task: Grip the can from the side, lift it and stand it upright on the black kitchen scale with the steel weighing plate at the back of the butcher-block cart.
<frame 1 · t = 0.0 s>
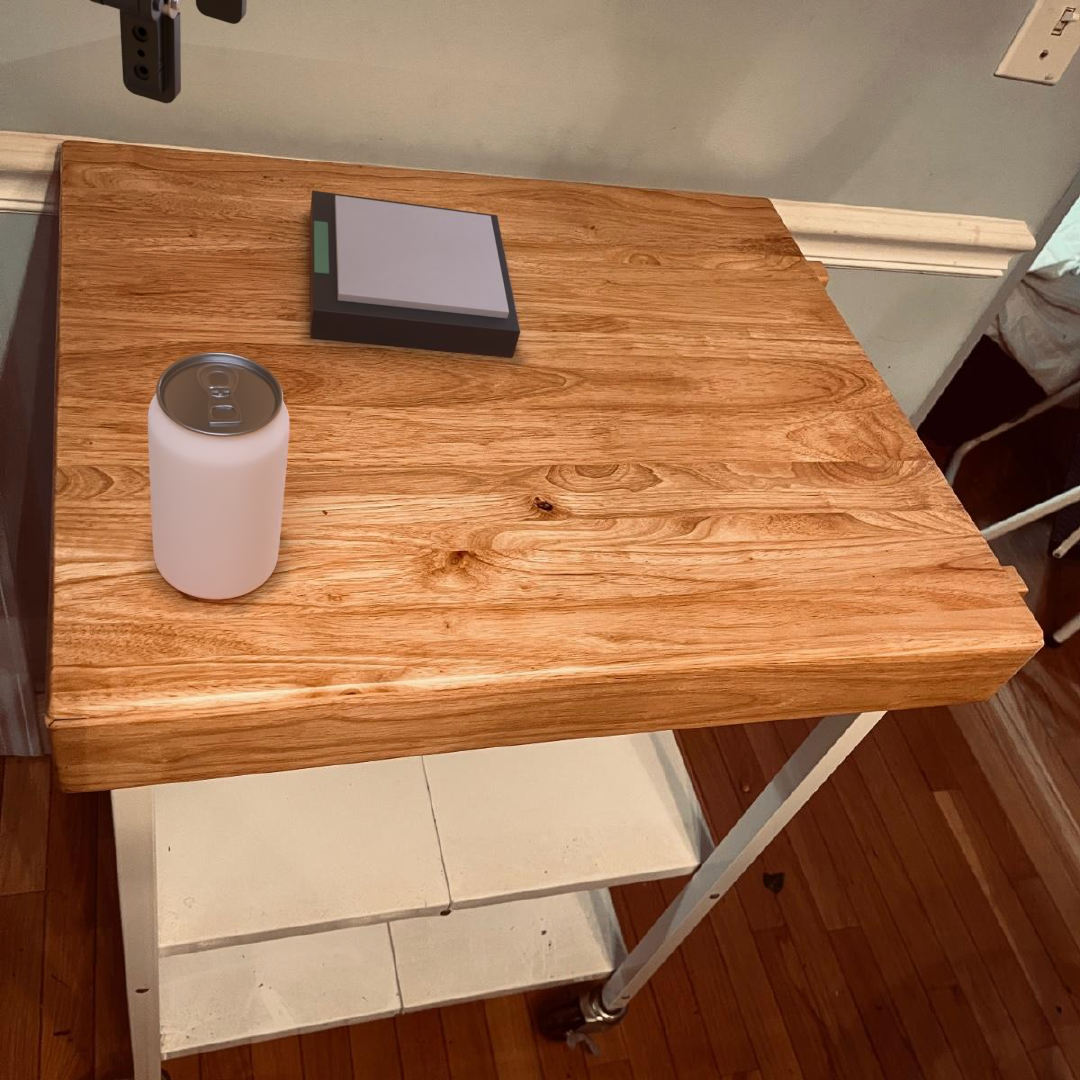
hand: (188, 53, 48), 22 cm above the kitchen cart, tool pointing down, fingers open, 8 cm apart
scale: (408, 285, 78), on the kitchen cart
can: (216, 559, 58), on the kitchen cart
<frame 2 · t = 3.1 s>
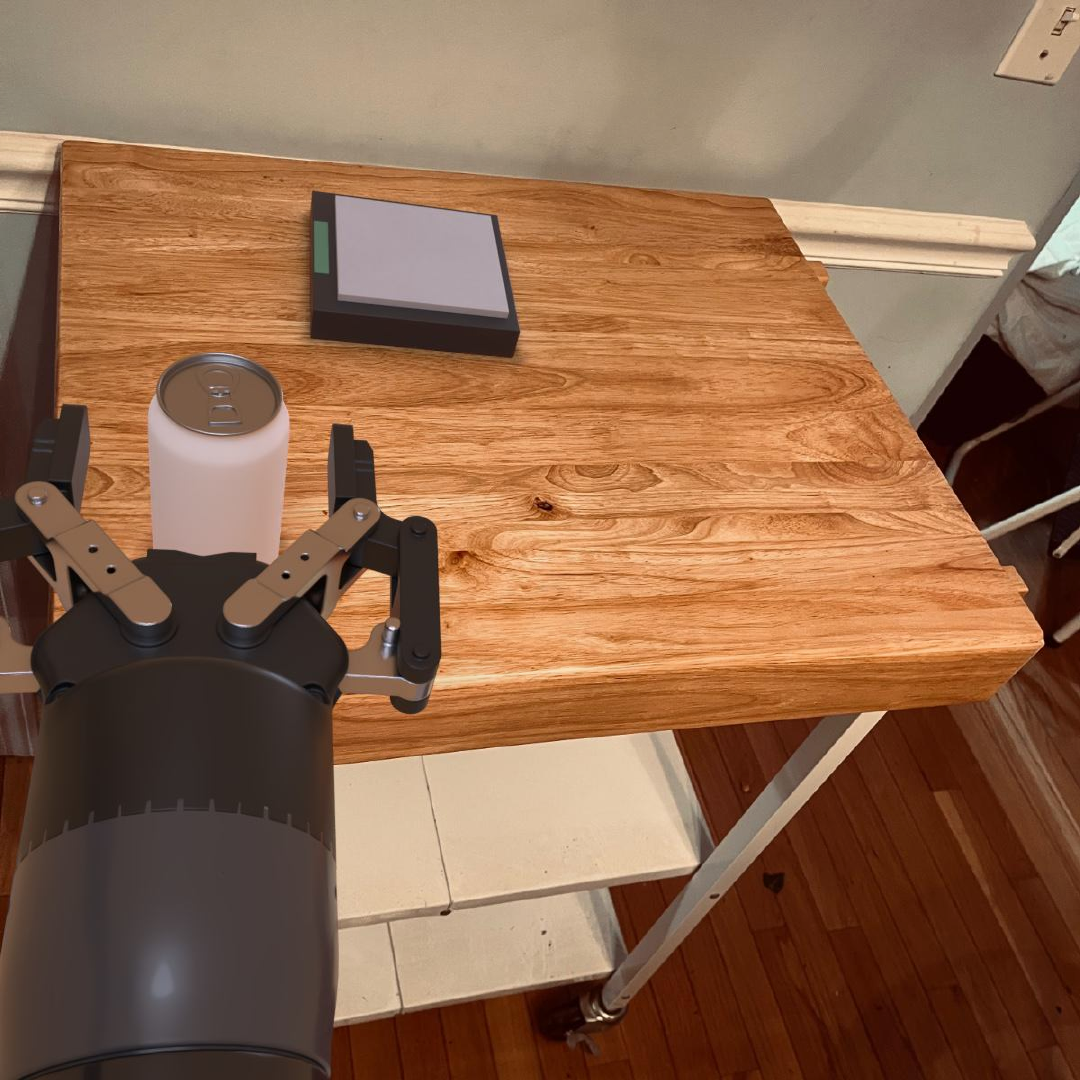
hand: (212, 432, 36), 20 cm above the kitchen cart, tool horizontal, fingers open, 8 cm apart
nothing on the kitchen cart moved.
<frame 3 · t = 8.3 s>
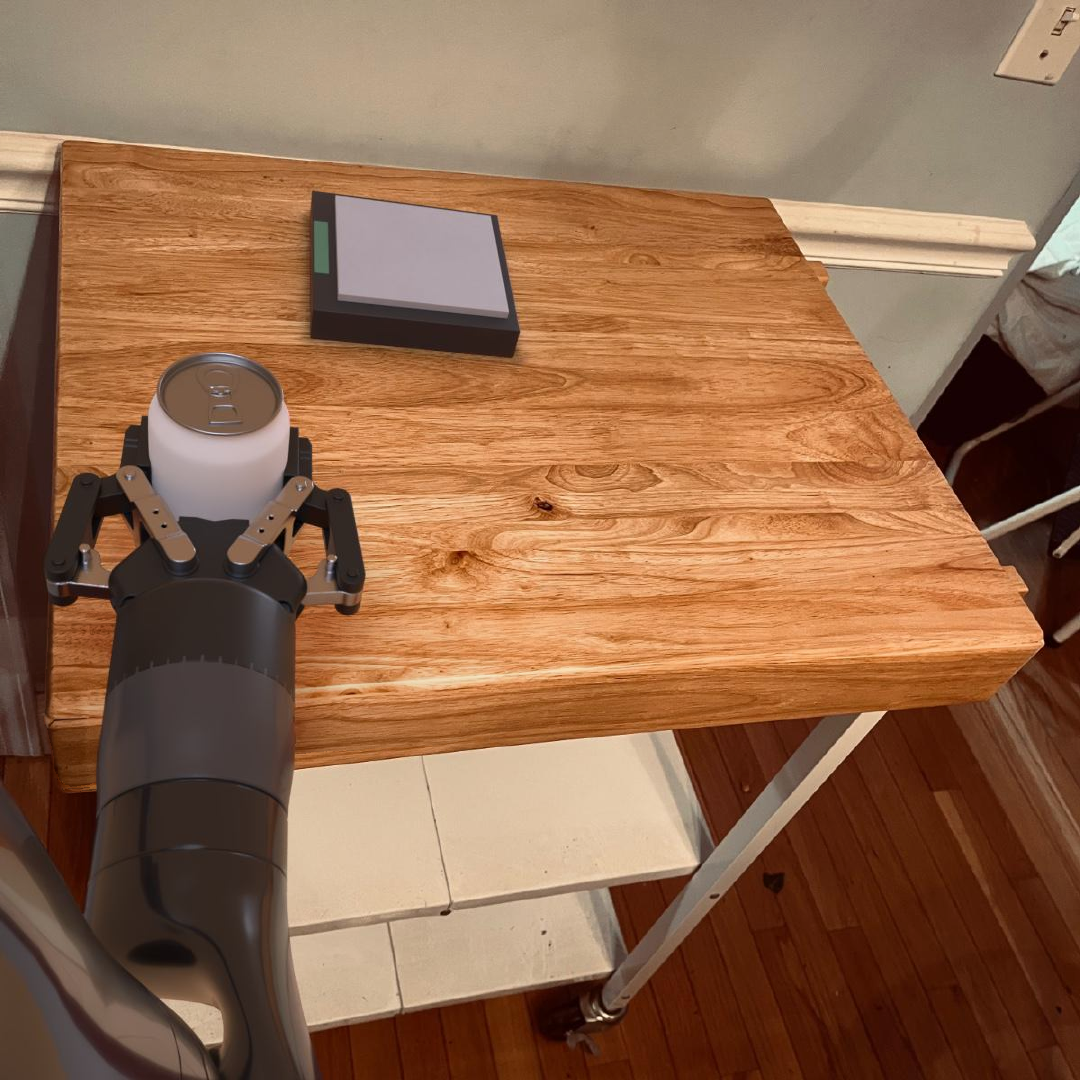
hand: (221, 433, 54), 7 cm above the kitchen cart, tool horizontal, fingers closed on can, 6 cm apart
can: (216, 559, 58), on the kitchen cart, touching gripper
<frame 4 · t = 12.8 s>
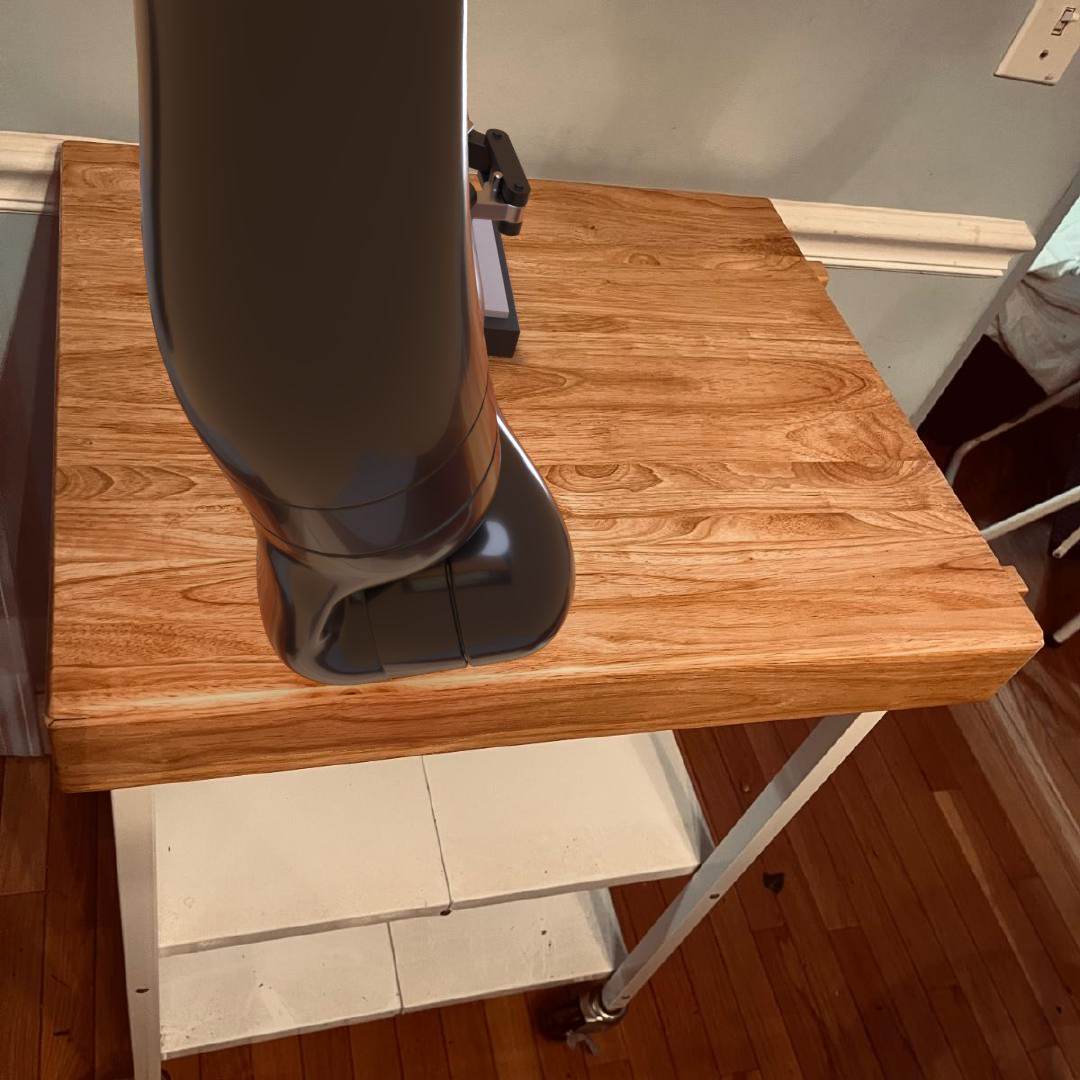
hand: (379, 91, 57), 19 cm above the kitchen cart, tool horizontal, fingers closed on can, 6 cm apart
can: (365, 232, 61), point 12 cm above the kitchen cart, touching gripper
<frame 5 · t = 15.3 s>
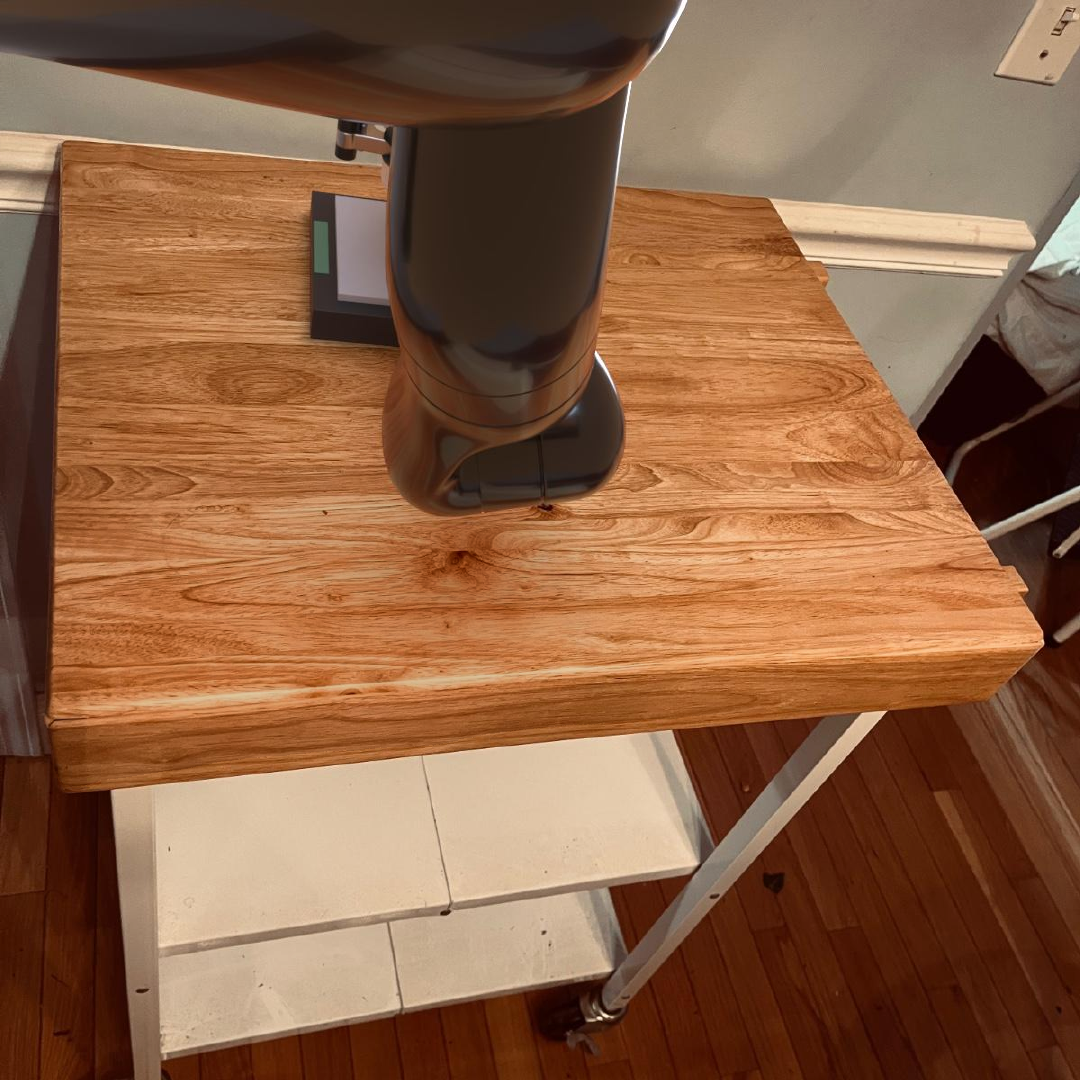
hand: (442, 72, 68), 15 cm above the kitchen cart, tool horizontal, fingers closed on can, 6 cm apart
can: (427, 192, 72), point 8 cm above the kitchen cart, touching gripper
when the fingers open (10 cm above the kitchen cart, at t = 17.3 s): can stays where it is, resting on scale.
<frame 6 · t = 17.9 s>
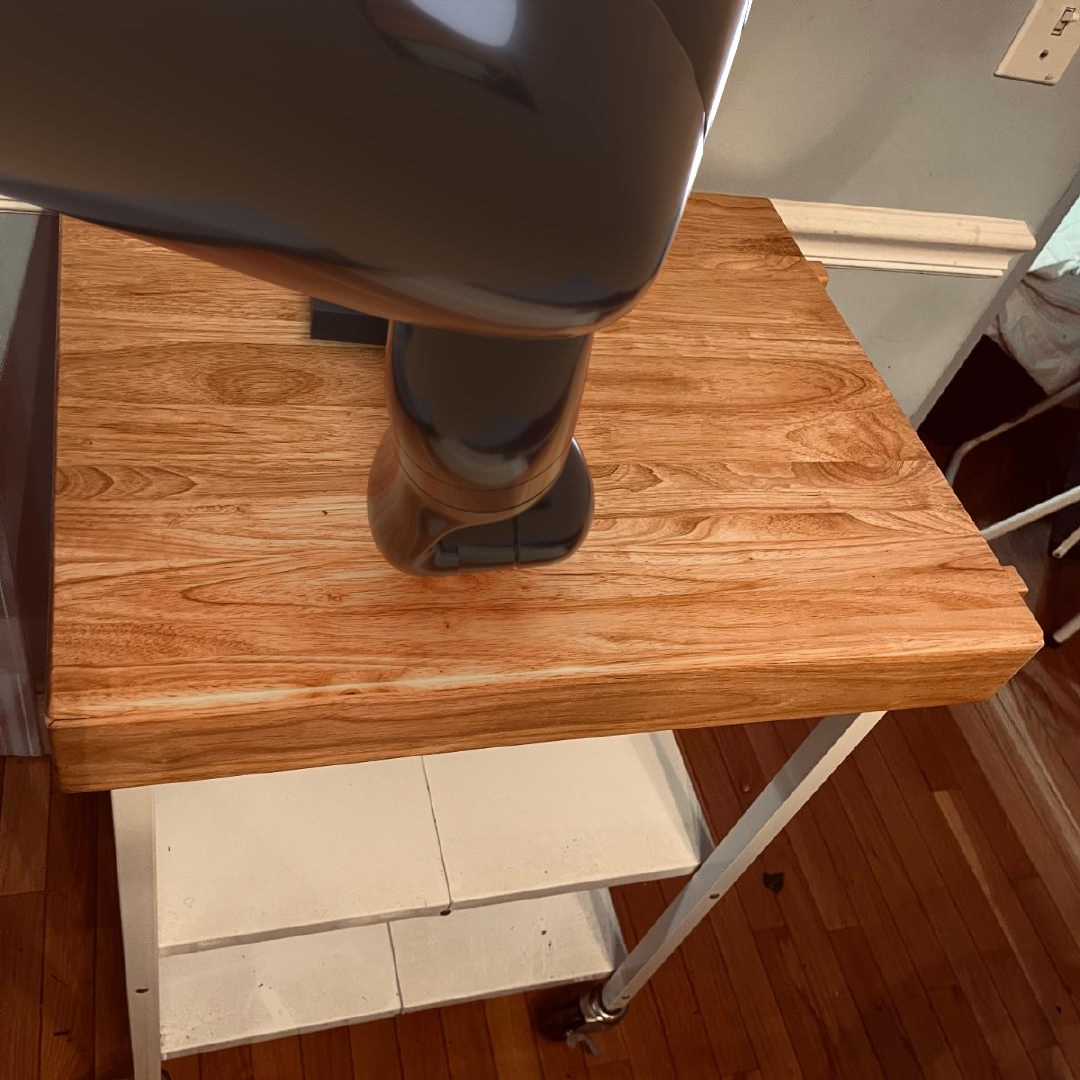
hand: (429, 135, 71), 11 cm above the kitchen cart, tool horizontal, fingers open, 8 cm apart
can: (415, 254, 76), point 3 cm above the kitchen cart, touching scale
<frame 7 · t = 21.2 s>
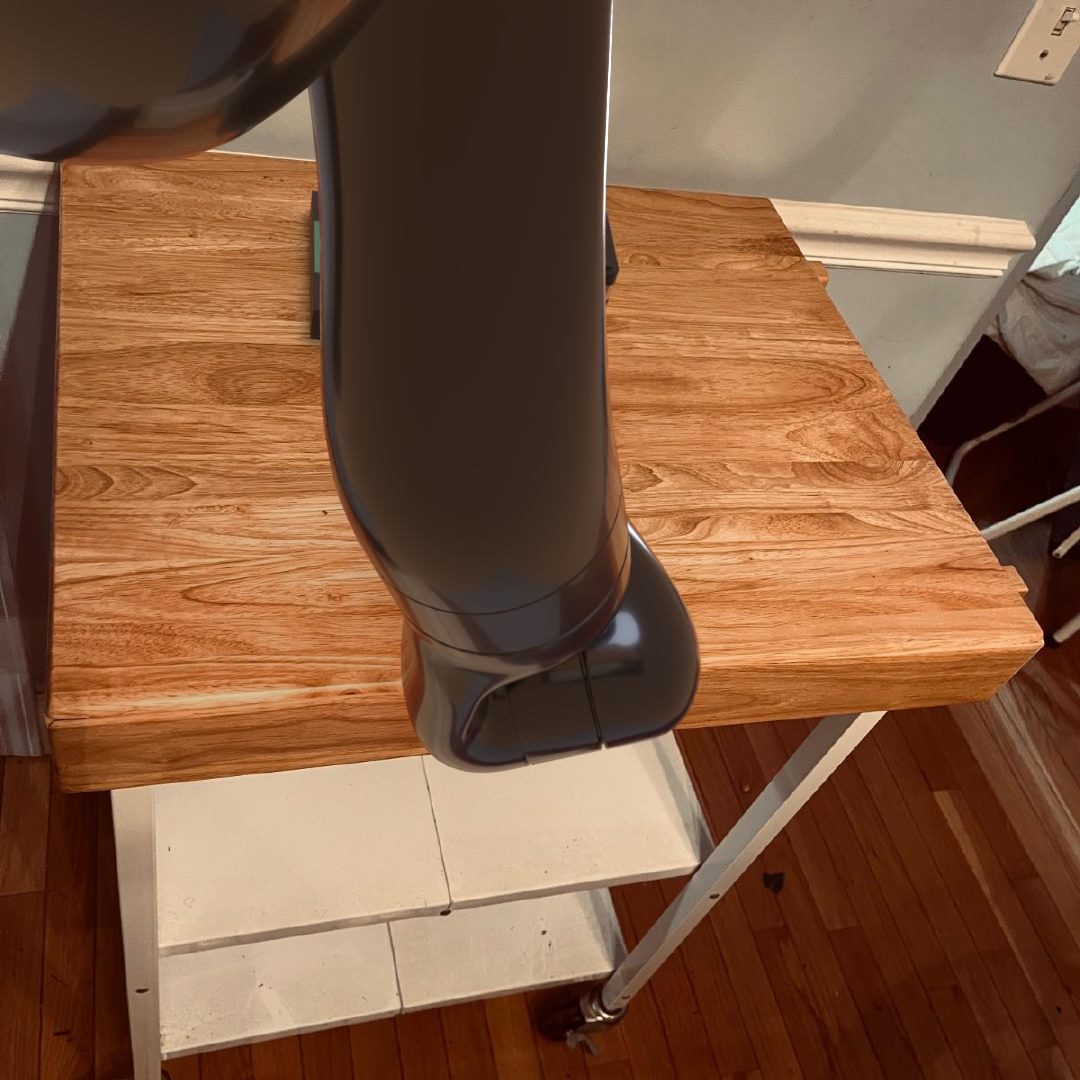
hand: (462, 162, 59), 16 cm above the kitchen cart, tool horizontal, fingers open, 8 cm apart
nothing on the kitchen cart moved.
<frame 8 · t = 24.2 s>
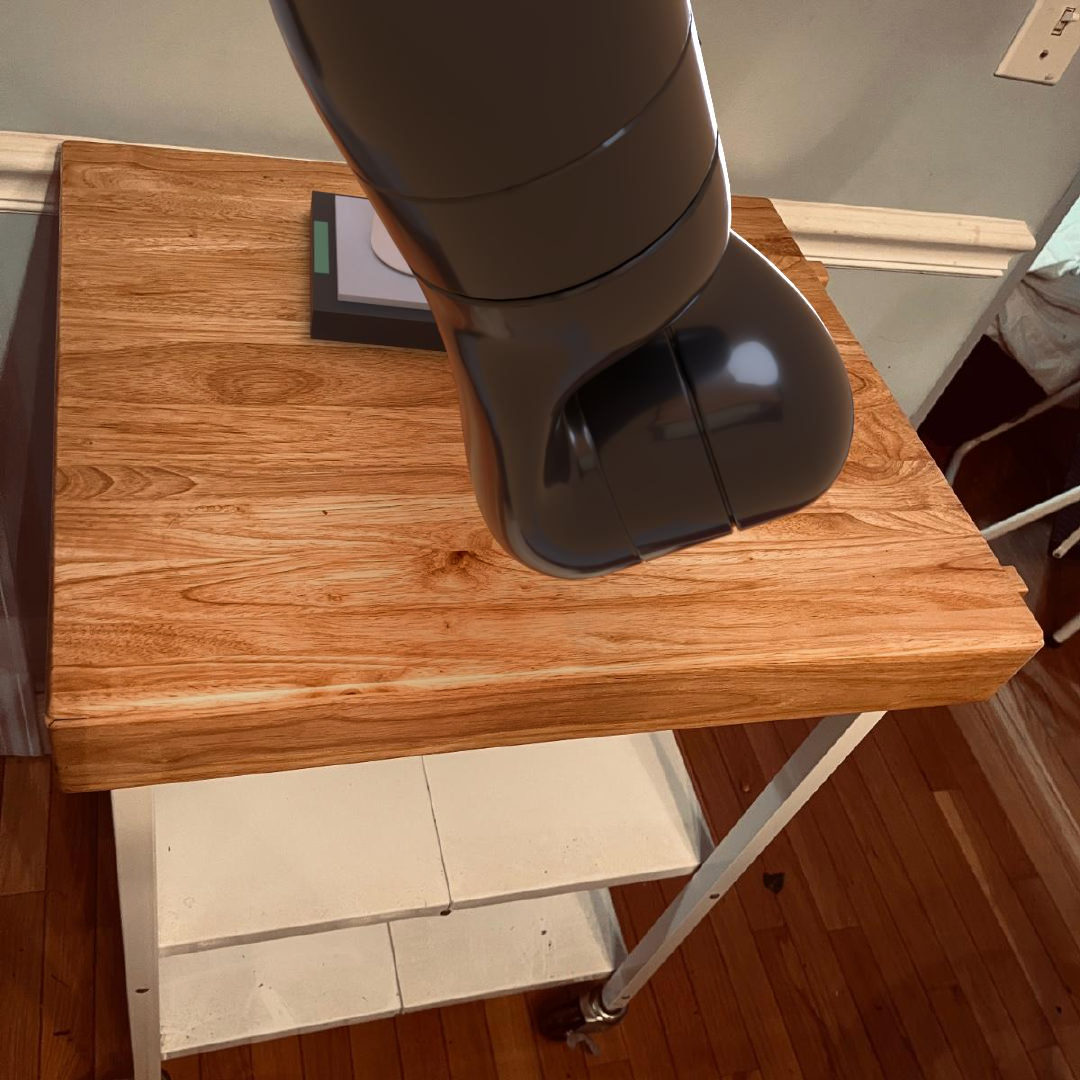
nothing on the kitchen cart moved.
at the end: can inside the target area on the scale (0.2 cm from its centre), point 2.8 cm above the scale's base; can tilted 0°; the gripper is holding nothing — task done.
